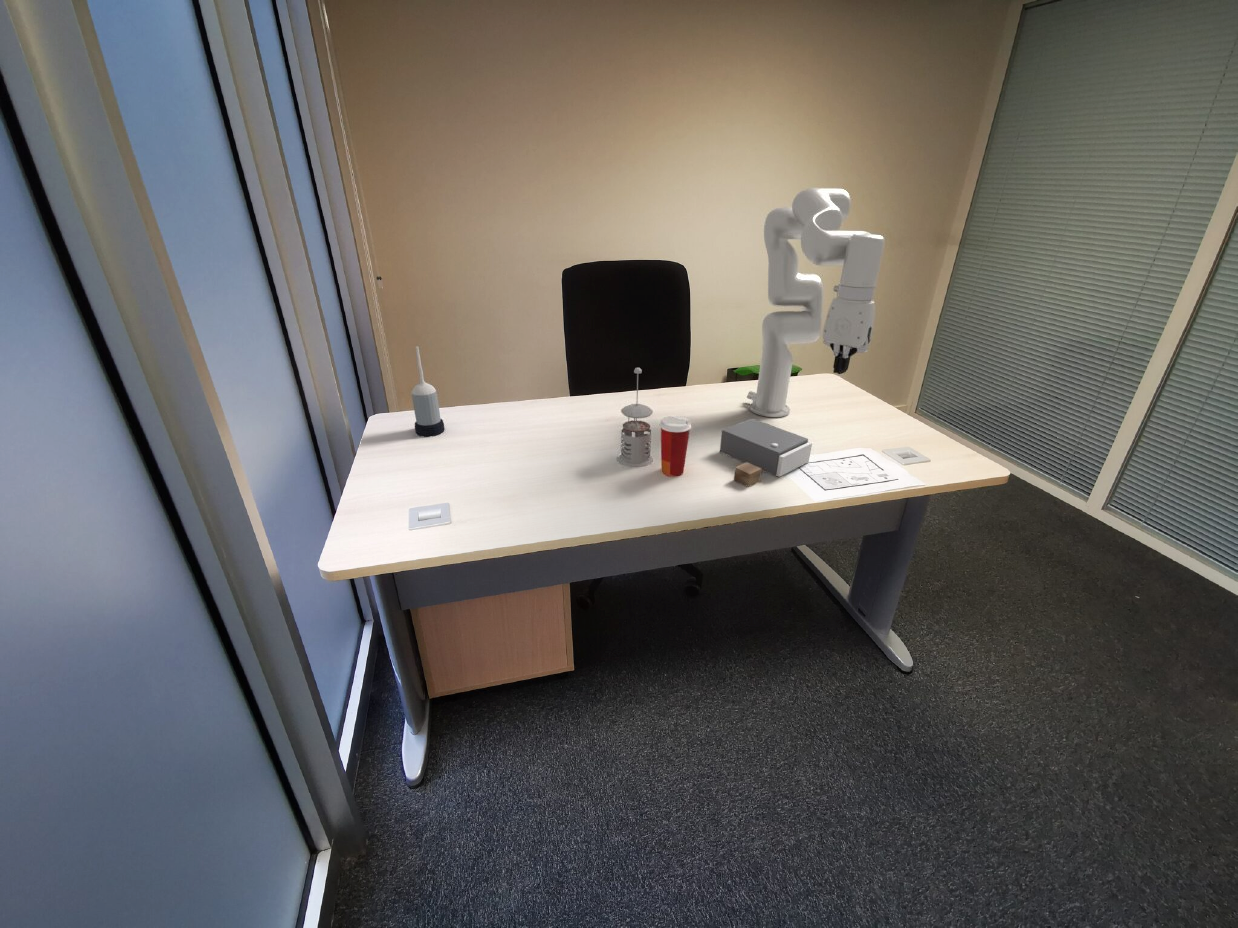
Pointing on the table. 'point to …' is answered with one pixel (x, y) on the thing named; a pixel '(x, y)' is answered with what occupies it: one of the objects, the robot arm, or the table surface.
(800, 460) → the tray
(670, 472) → the paper cup
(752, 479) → the brown wooden cube
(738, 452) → the player
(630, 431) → the french press
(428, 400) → the grey bottle with nozzle
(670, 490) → the table surface
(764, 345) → the robot arm
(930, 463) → the table surface
